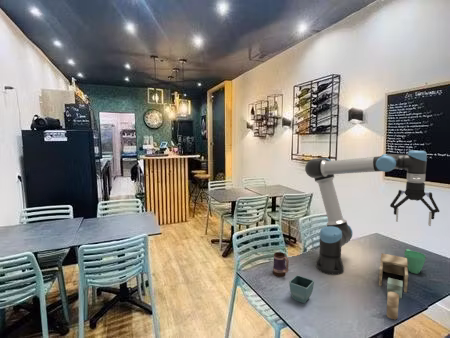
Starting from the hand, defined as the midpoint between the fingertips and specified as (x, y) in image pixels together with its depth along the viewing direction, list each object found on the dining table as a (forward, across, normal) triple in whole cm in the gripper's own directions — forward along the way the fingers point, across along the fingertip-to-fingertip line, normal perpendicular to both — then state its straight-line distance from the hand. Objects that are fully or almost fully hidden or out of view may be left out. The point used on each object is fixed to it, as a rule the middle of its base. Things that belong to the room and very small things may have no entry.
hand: (412, 223), depth 135 cm
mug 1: (+32, -59, -28) cm, 73 cm away
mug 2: (+32, +2, +17) cm, 36 cm away
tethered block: (+32, -7, -26) cm, 41 cm away
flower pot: (+32, -43, -44) cm, 69 cm away
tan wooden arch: (+32, -7, -3) cm, 33 cm away
